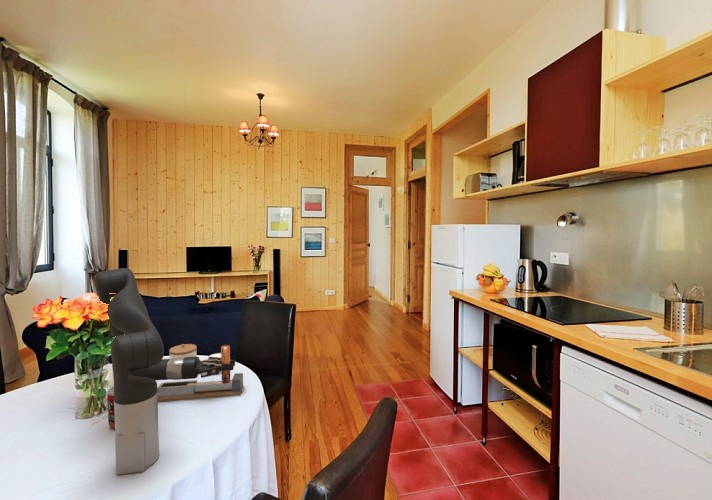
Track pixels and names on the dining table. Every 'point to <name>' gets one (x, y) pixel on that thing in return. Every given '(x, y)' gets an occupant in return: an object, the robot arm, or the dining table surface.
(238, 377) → the socket block
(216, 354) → the beige cylindrical piece
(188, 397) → the plank
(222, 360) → the sliding bolt with handle
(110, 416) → the canned food
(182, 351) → the lidded jar
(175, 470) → the dining table surface
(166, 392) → the guide sleeve
